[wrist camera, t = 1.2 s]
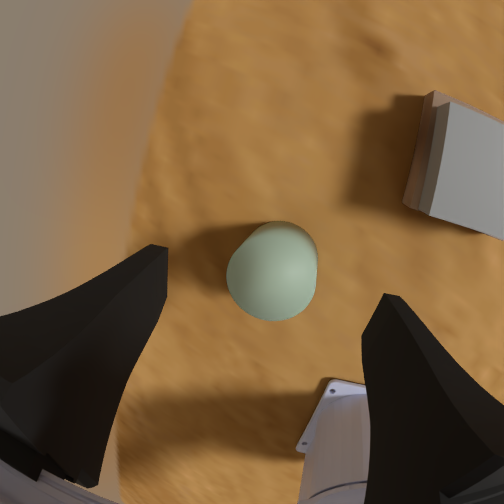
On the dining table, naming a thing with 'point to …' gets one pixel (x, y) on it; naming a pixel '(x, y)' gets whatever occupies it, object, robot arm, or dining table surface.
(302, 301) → the green cylinder
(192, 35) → the dining table surface
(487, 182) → the tower top
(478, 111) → the tower base
